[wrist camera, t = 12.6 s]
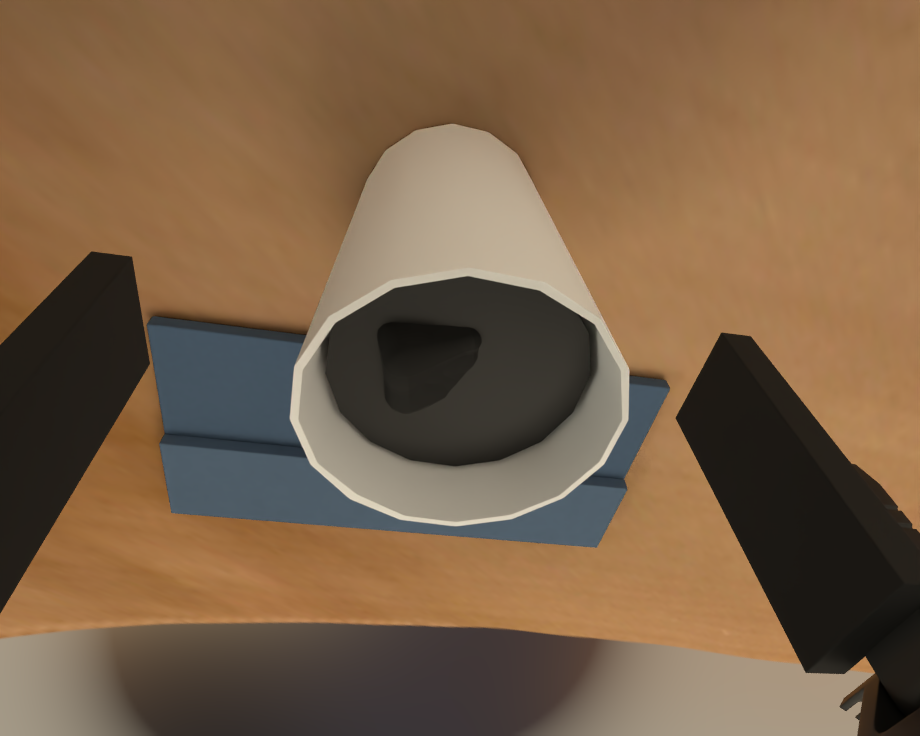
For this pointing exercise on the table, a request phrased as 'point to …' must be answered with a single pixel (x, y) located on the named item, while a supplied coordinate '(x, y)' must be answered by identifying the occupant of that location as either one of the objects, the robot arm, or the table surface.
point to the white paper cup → (456, 344)
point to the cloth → (284, 460)
